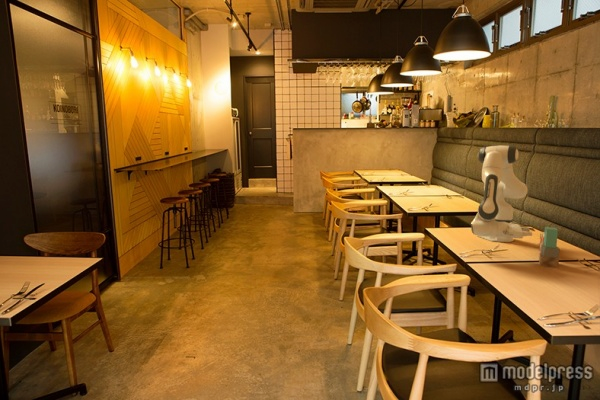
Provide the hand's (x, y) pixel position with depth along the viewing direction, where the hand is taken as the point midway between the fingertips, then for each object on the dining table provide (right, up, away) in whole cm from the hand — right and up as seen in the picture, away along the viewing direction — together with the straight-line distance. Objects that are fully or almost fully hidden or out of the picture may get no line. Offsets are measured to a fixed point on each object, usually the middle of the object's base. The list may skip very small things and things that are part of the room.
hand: (530, 232), depth 226 cm
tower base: (+9, -18, -1) cm, 20 cm away
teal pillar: (+9, -8, -2) cm, 12 cm away
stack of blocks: (+20, -14, +19) cm, 31 cm away
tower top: (+9, -13, -1) cm, 16 cm away
